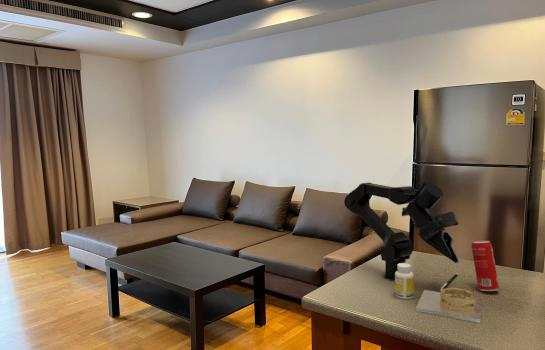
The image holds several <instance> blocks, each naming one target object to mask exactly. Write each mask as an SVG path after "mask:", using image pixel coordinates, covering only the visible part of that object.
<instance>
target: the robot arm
mask: <svg viewBox="0 0 545 350" xmlns="http://www.w3.org/2000/svg"><path fill="white" fill-rule="evenodd" d="M372 196H374V197H378V198H384V199H387V200H389V202H391V203H393V204H394V205H395V204H396V205H398V206H402V205H406V206H405V207H402V210H401V217H406V216H409V218H410V219H411V220H412V222H413V223H414V224H413V225H414V226H415V227H416V229H418V233H417V235H418V236H419V238H420V239H421V240H422V241H423V242H424V243H426V244H427V245H428V246H430V247H431V248H433V249H434V250H435V251H437V252H438V253H440V254H441V255H442V256H445V257H446V258H447V259H449V260H451V261H452V262H454V263H458V262H459V259H458V256H457V254H456V252H455V250H454V248H453V246H452V245H453V242H454V238H453V237H452V236H451V234H449V233H448V232H446V230H445V228H448V227H452V226H454V227H455V226H458V225H459V221H458V218H457V215H456V213H455V212H454V211H449V212H444V213H441V214H438V215H436V216H434V215H433V213H430V211H429V209H430V210H431V209H433V207H435V205H436V204H437V203H439V201H440V200H441V198H442V197H443V196H444V192H443V190H442V188H440V187H438V186H437V185H435V184H434V183H431V182H430V181H423V182H422V184H421V186H420V187H419V189H415V187H414V186H411V185H410V186H408V185H406V186H405V185H404V186H390V185H389V186H388V185H385V184H384V185H382V184H378V183H377V184H376V183H372V182H362V183H359V185H357V187H356V188H355V189H353V190H351V191H350V192H349V193H348V194H347V195H346V196H345V198H344V199H343V200H344V201H343V202H344V206H345V208H346V209H347V210H348V211H349V212H351V213H353V214H355V215H358V216H360V217H361V219H362V220H363V221H364V222H365V223H366V224H367V225H368V226H369V227H370V228H371V229H372V230H373V232H374V233H375V234H376V235H377V236H378V237H379V238H380V240H382V242H383V249H384V250H383V251H382V252H381V253H380V258H381V260H382V261H383V262H385V264H384V265H385V269H384V270H385V274H384V276H383V278H384V279H389V280H394V281H395V272H396V271H398V268H397V265H398V264H399V263H407V260H410V258H411V255H412V253H413V250H414V248H413V243H412V242H411V239H410V238H409V237H408V236H407V235H406V234H405V233H404V232H403V231H399V232H394V230H393V229H391V227H390V226H389V225H388V224H387V223H386V222H385V221H384V220H383V219H382V218H381V217H380V216H379V215H378V214H377V213H376V212H375V211H374V210H373V208H371V205H370V200H371V198H372Z"/></svg>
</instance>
